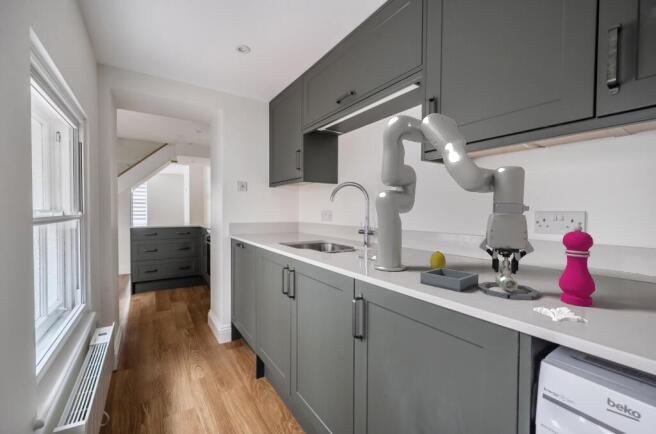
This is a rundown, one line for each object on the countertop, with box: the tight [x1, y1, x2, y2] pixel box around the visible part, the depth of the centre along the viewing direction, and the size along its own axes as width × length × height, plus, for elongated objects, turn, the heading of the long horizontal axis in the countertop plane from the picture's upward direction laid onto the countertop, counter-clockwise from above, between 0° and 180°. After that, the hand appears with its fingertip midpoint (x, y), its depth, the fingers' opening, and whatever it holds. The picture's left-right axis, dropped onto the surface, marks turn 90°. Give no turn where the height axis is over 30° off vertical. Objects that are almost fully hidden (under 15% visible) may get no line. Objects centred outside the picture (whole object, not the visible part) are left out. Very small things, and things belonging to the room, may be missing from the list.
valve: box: [495, 248, 520, 293], centre depth 84 cm, size 7×7×12 cm
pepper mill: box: [558, 224, 596, 307], centre depth 75 cm, size 7×7×20 cm
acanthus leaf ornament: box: [532, 306, 590, 324], centre depth 65 cm, size 8×7×2 cm
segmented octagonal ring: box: [476, 281, 541, 301], centre depth 85 cm, size 15×15×1 cm
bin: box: [419, 267, 479, 293], centre depth 93 cm, size 13×12×4 cm
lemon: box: [429, 250, 447, 270], centre depth 111 cm, size 6×6×8 cm
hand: (504, 271), depth 85 cm, fingers closed on valve, 3 cm apart
